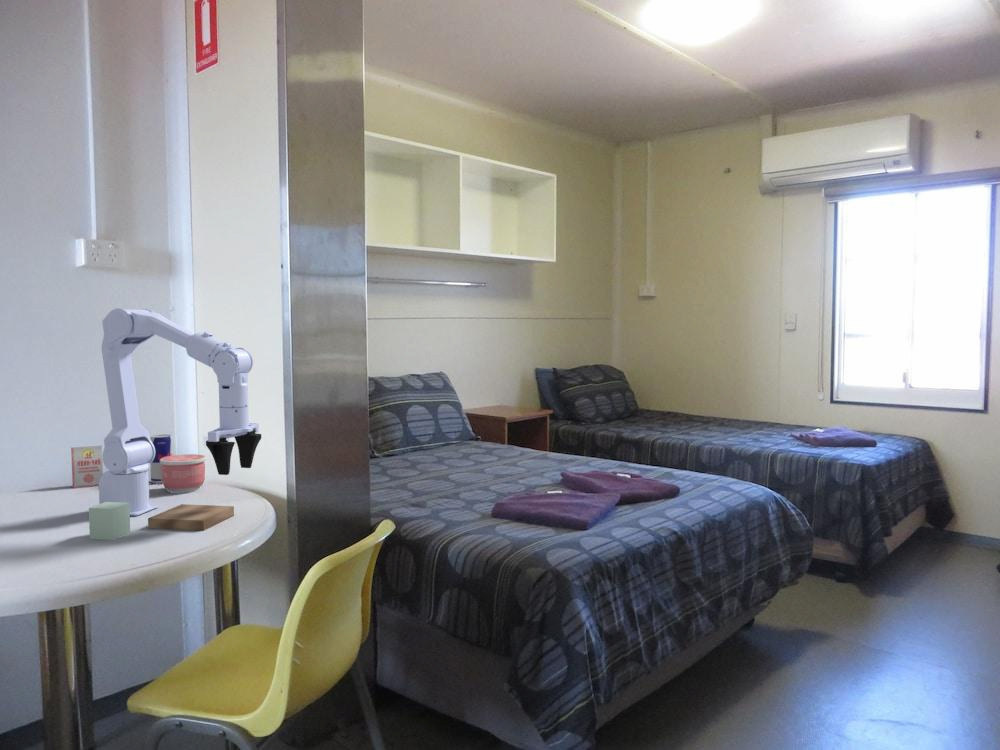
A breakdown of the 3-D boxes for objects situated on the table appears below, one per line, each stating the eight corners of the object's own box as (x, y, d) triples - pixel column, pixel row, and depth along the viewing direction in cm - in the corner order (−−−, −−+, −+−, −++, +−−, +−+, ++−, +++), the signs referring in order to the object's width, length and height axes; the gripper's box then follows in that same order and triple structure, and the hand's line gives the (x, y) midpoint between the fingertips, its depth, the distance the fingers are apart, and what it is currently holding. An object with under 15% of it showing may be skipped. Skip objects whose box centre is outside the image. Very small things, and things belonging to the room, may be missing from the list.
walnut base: (148, 528, 153) (147, 518, 153) (182, 513, 165) (181, 504, 165) (203, 530, 151) (203, 520, 151) (234, 515, 163) (233, 506, 163)
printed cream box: (72, 485, 194) (71, 446, 193) (102, 482, 197) (101, 444, 196) (72, 488, 191) (71, 448, 190) (103, 485, 194) (101, 446, 193)
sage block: (89, 539, 146) (88, 508, 145) (107, 531, 151) (106, 501, 150) (113, 540, 145) (112, 508, 145) (130, 533, 150) (129, 502, 150)
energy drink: (164, 484, 195) (163, 437, 194) (146, 483, 196) (144, 437, 195) (177, 480, 200) (176, 434, 200) (159, 479, 201) (158, 434, 201)
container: (196, 494, 183) (195, 461, 183) (153, 494, 184) (151, 461, 183) (213, 485, 194) (212, 454, 193) (172, 485, 194) (171, 454, 193)
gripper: (228, 411, 151) (230, 478, 152) (270, 403, 165) (271, 465, 166) (198, 409, 153) (199, 476, 154) (242, 402, 167) (243, 464, 168)
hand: (235, 471), depth 160 cm, fingers open, 7 cm apart
